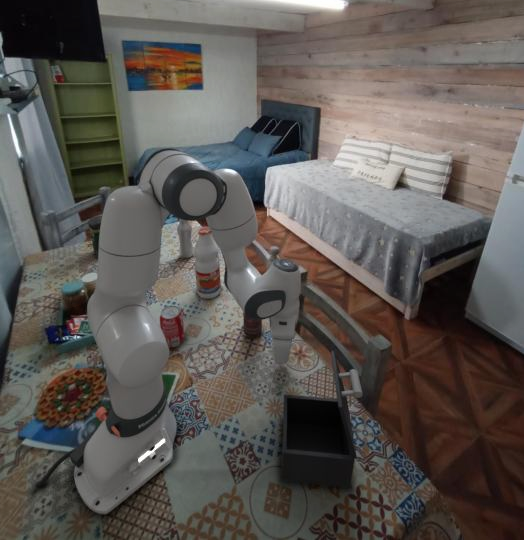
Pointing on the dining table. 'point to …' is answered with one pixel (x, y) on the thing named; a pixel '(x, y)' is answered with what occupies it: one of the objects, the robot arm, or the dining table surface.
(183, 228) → the plastic bottle
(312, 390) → the dining table surface
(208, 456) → the dining table surface
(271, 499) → the dining table surface
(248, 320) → the can
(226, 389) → the dining table surface
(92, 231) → the coffee jar
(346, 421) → the lid
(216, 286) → the fruit juice
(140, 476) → the robot arm
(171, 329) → the soda can
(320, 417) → the dark grey box
